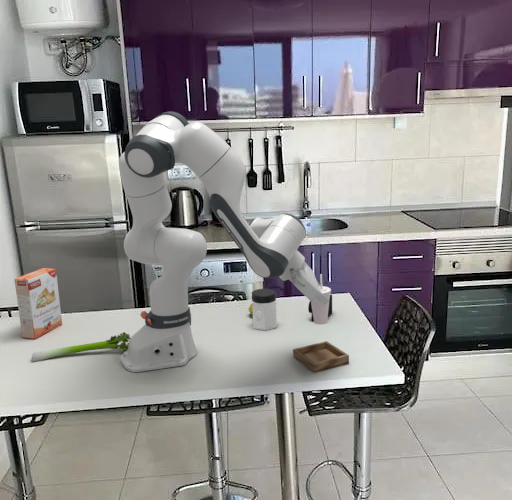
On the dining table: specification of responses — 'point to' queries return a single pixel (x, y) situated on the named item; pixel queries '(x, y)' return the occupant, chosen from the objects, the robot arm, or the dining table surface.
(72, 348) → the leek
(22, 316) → the cracker box
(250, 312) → the toy pineapple
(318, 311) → the smoothie
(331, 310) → the digital camera
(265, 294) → the jar
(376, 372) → the dining table surface
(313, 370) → the tray
